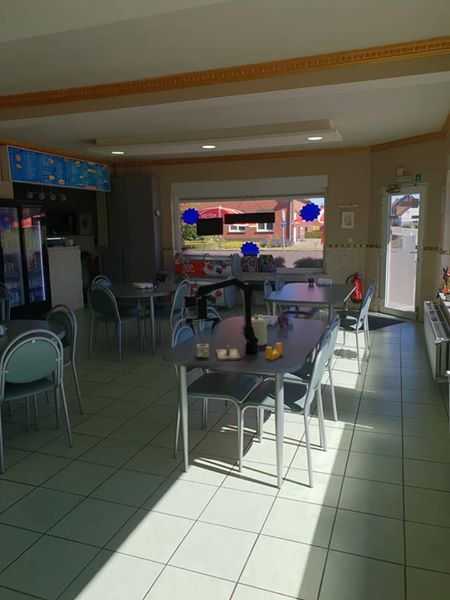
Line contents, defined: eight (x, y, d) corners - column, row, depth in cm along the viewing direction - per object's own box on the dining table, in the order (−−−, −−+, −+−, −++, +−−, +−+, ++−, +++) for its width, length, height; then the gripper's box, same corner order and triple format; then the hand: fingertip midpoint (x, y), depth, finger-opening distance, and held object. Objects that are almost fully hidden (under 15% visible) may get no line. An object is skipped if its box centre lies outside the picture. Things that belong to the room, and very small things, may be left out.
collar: (208, 354, 263) (208, 343, 262) (209, 357, 257) (208, 346, 256) (197, 354, 263) (196, 344, 262) (197, 357, 257) (197, 347, 256)
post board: (236, 350, 270) (236, 341, 269) (240, 359, 252) (240, 349, 251) (216, 351, 269) (216, 342, 268) (218, 360, 251) (218, 350, 250)
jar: (242, 344, 283) (242, 316, 280) (249, 339, 295) (249, 312, 292) (263, 346, 279) (263, 317, 276) (269, 341, 291) (269, 313, 288)
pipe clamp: (272, 360, 252) (272, 348, 251) (265, 358, 255) (266, 347, 254) (284, 355, 261) (284, 343, 260) (277, 353, 264) (277, 342, 263)
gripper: (217, 304, 265) (218, 331, 267) (184, 305, 263) (185, 332, 265) (219, 307, 254) (219, 335, 256) (185, 308, 252) (185, 336, 254)
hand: (202, 334), depth 258 cm, fingers open, 9 cm apart
